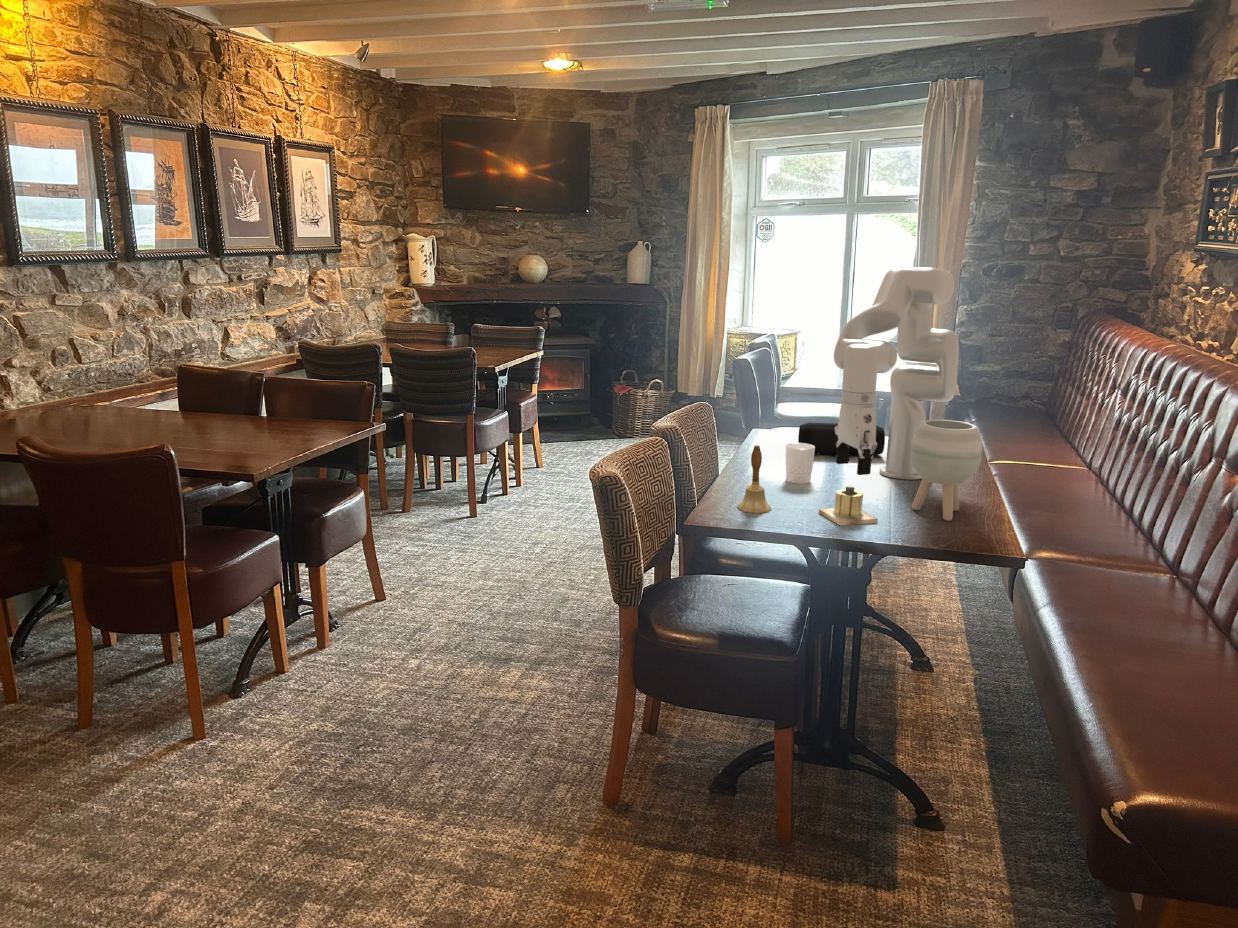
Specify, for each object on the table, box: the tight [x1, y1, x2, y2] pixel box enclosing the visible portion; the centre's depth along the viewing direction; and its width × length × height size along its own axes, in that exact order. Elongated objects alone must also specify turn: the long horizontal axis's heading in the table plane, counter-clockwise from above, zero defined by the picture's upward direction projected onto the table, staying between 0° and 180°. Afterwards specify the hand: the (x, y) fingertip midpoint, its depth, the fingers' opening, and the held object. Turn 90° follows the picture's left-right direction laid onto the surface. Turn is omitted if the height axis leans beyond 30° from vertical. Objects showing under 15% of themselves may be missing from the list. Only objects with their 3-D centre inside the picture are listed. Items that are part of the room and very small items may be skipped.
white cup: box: [785, 442, 815, 485], centre depth 236 cm, size 8×8×10 cm
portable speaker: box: [797, 422, 886, 457], centre depth 269 cm, size 26×10×10 cm, turn 84°
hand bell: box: [736, 445, 772, 514], centre depth 209 cm, size 8×8×16 cm
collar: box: [834, 488, 864, 517], centre depth 204 cm, size 6×6×5 cm
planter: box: [910, 419, 983, 522], centre depth 207 cm, size 16×16×22 cm
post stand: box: [818, 486, 879, 526], centre depth 204 cm, size 10×10×8 cm
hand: (852, 468), depth 202 cm, fingers open, 9 cm apart
